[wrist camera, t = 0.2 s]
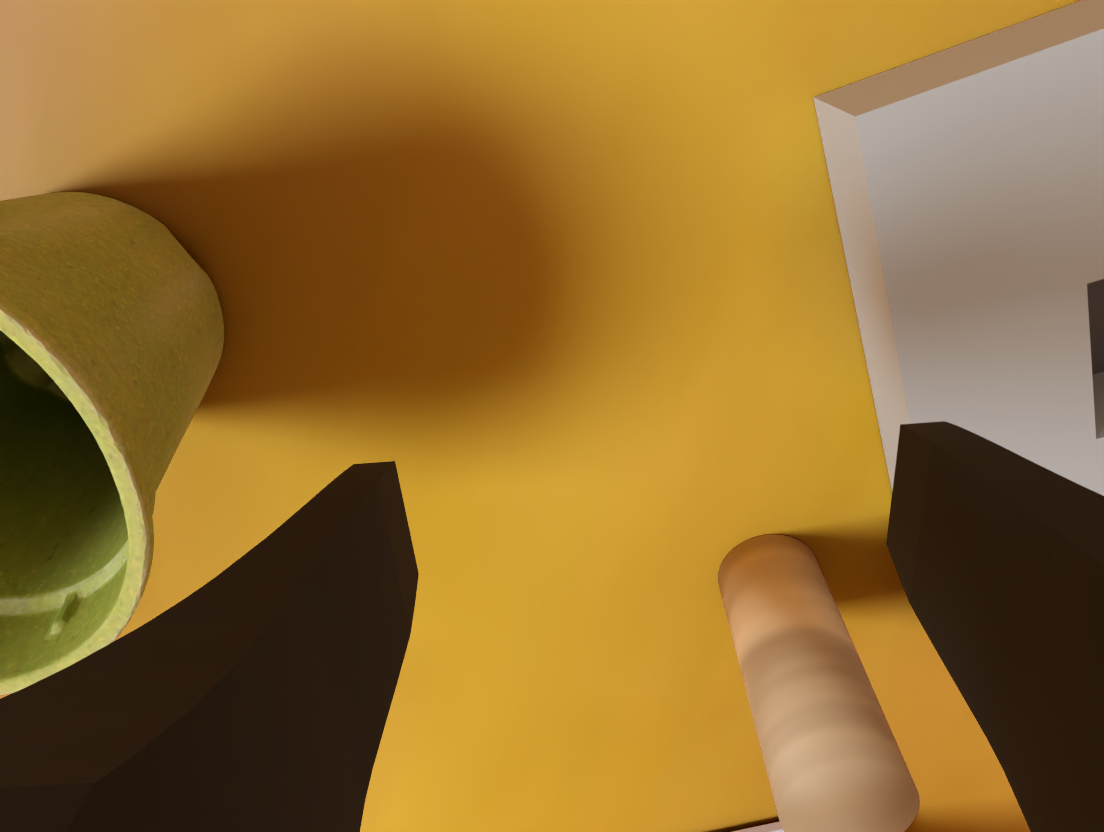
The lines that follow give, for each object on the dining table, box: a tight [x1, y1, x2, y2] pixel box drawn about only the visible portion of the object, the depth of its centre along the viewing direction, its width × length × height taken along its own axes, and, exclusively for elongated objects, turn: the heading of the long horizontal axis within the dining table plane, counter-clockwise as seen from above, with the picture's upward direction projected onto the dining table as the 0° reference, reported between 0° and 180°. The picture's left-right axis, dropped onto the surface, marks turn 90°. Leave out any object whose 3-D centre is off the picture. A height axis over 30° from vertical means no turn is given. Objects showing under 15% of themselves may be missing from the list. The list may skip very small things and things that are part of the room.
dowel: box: [718, 534, 920, 832], centre depth 21 cm, size 3×3×8 cm
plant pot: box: [0, 192, 224, 695], centre depth 17 cm, size 9×9×9 cm
